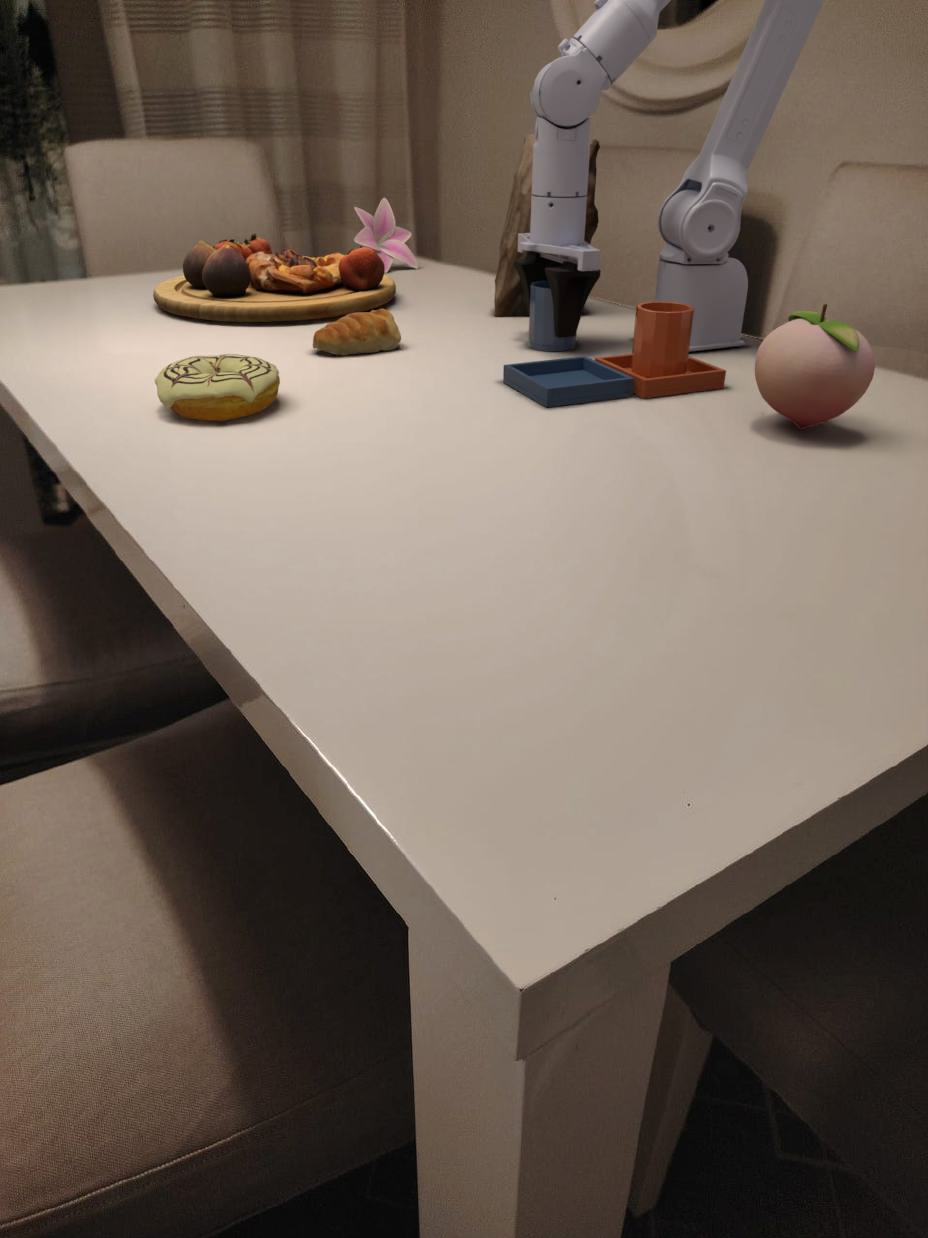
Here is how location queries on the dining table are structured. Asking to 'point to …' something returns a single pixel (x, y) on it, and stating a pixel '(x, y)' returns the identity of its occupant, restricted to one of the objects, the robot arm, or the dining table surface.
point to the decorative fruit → (813, 368)
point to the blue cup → (545, 321)
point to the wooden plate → (273, 283)
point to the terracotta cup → (661, 339)
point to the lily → (385, 235)
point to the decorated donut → (218, 386)
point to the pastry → (359, 333)
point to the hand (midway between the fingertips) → (552, 330)
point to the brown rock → (519, 221)
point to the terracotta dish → (669, 377)
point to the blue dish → (567, 381)
